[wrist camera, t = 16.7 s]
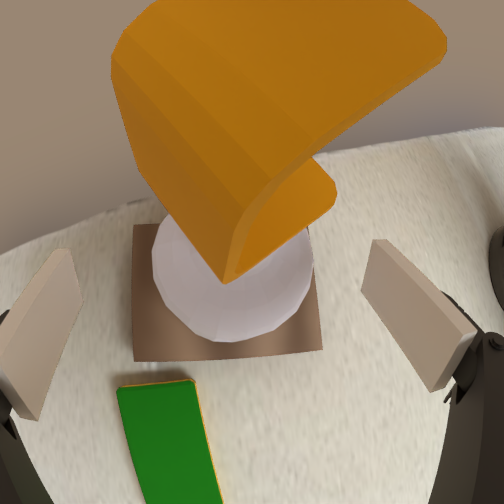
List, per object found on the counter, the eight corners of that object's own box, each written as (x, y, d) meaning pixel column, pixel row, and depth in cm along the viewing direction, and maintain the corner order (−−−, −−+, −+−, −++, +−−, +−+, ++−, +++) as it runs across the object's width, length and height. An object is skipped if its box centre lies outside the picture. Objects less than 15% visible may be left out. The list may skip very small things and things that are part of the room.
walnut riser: (298, 231, 32) (306, 219, 29) (311, 349, 29) (322, 349, 26) (139, 236, 30) (133, 224, 27) (141, 360, 26) (133, 361, 24)
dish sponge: (195, 377, 27) (194, 380, 25) (224, 502, 23) (225, 513, 21) (122, 385, 26) (114, 388, 24) (154, 508, 22) (151, 519, 20)
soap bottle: (298, 297, 27) (561, 113, 4) (214, 364, 25) (291, 550, 1) (234, 219, 28) (308, -77, 5) (150, 277, 26) (-15, 0, 3)
